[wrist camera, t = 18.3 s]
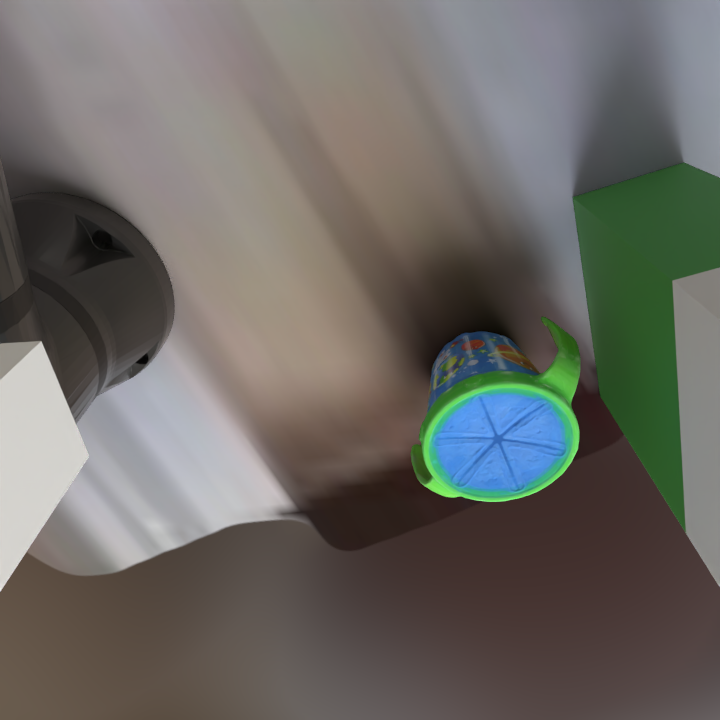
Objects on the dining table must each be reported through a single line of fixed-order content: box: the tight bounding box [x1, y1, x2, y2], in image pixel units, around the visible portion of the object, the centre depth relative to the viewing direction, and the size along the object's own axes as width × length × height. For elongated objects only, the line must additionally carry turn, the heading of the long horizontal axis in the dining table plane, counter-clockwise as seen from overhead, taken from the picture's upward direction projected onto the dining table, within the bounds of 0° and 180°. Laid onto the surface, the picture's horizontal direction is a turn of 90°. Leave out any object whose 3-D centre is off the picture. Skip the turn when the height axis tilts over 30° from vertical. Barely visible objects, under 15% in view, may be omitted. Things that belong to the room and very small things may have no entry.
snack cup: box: [411, 317, 580, 502], centre depth 42 cm, size 16×10×10 cm
